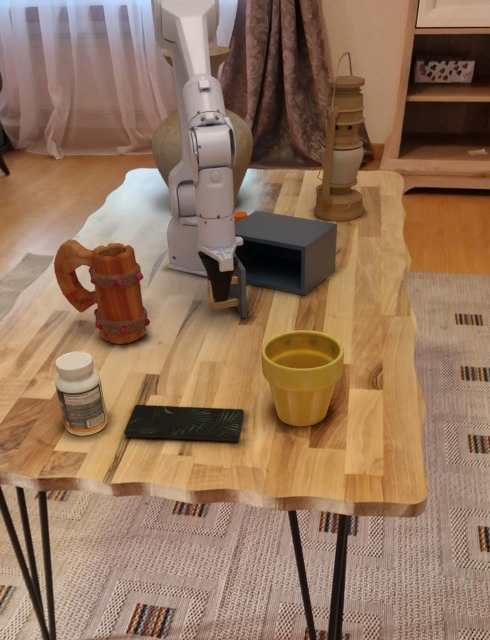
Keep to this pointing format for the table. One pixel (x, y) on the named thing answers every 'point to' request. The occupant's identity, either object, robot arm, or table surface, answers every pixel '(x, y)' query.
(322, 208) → the lantern
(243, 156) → the vase
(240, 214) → the release button
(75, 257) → the mug
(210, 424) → the smartphone
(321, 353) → the flower pot
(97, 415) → the pill bottle
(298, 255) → the grey cabinet
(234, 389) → the table surface
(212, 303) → the grey piece
